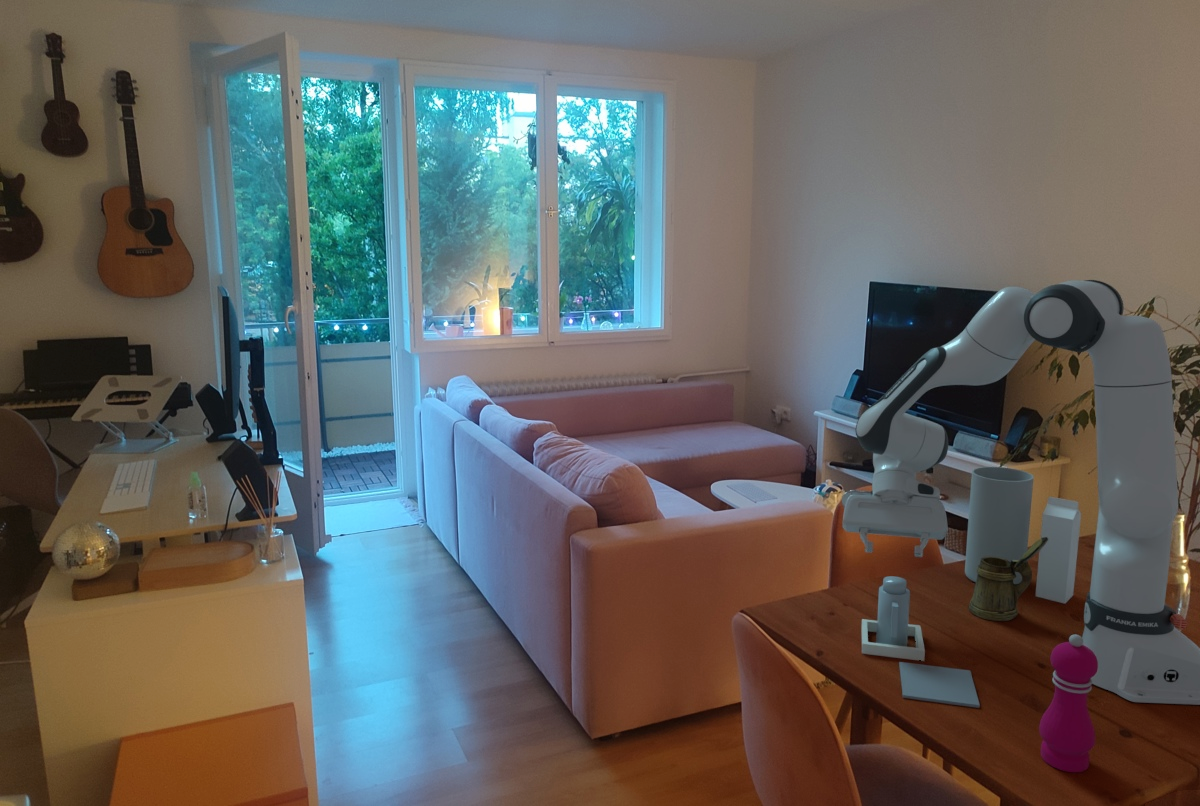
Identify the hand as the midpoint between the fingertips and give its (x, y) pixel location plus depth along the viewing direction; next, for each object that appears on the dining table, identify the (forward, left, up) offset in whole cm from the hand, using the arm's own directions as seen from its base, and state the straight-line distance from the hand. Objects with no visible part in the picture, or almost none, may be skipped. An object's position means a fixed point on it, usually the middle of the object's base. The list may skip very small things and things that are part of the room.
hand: (893, 553), depth 166 cm
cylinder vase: (-24, -31, -15) cm, 42 cm away
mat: (-7, +23, -15) cm, 29 cm away
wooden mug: (-23, -11, -15) cm, 29 cm away
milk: (-35, -24, -15) cm, 45 cm away
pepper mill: (-23, +41, -15) cm, 50 cm away
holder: (0, +9, -15) cm, 18 cm away
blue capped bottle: (0, +11, -15) cm, 18 cm away
